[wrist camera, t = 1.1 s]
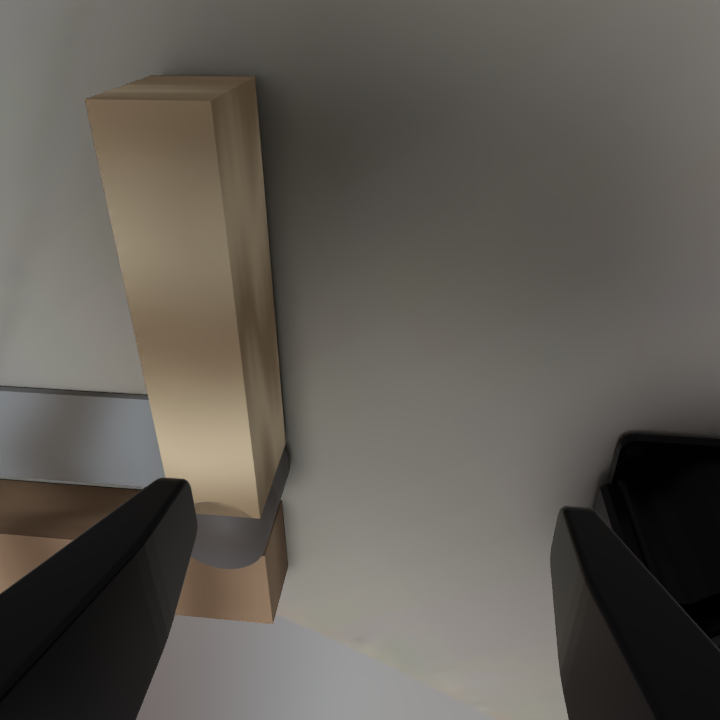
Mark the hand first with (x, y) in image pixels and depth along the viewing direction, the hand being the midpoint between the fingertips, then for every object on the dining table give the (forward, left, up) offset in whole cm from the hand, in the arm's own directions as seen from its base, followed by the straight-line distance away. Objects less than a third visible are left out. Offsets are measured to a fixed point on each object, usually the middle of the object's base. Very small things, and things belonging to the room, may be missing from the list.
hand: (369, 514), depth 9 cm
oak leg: (+6, +4, -13) cm, 14 cm away
